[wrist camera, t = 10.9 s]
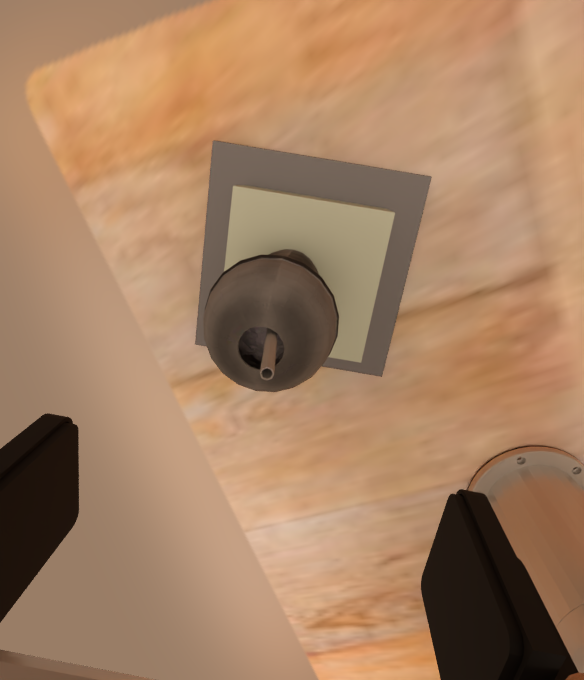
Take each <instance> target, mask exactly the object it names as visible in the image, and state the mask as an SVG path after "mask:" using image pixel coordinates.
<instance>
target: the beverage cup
mask: <svg viewBox="0 0 584 680" xmlns="http://www.w3.org/2000/svg"><path fill="white" fill-rule="evenodd" d="M338 325H339V313H338V309H337V306H336V302H335V298H334V295H333V293H332V292H331V290H330V289H329V287H328V286H327V284H326V283H325V281H324V280H323V278H322V277H321V276H320V275H319V273H318V270H317V268H316V267H315V265H314V264H313V262H312V261H311V259H310V258H309V257H307V256H306V255H305V254H304V253H302V252H299V251H296V250H292V249H284V250H279V251H276V252H272V253H270V254H268V255H258V256H254V257H251V258H247V259H244V260H240V261H239V262H237V263H236V264H234V265H233V266H232V267H230V268H229V269H227V270H226V271H224V272H223V273H222V274H221V276H220V277H219V278H218V280H217V281H216V283H215V284H214V285H213V287H212V288H211V290H210V293H209V296H208V299H207V303H206V306H205V312H204V316H203V327H204V339H205V342H206V345H207V348H208V350H209V353H210V356H211V358H212V360H213V361H214V362H215V364H216V365H217V366H218V368H219V369H220V370H221V371H222V373H223V374H225V375H226V376H227V377H229V378H230V379H231V380H233V381H234V382H236V383H237V384H238V385H241V386H244V387H247V388H250V389H252V390H255V391H267V392H277V391H281V390H285V389H290V388H293V387H295V386H297V385H299V384H300V383H302V382H304V381H306V380H307V379H309V378H311V377H312V376H313V375H314V374H315V373H316V372H317V370H318V369H319V368H320V367H321V366H322V365H323V364H324V363H325V361H326V360H327V358H328V356H329V355H330V353H331V351H332V348H333V346H334V344H335V341H336V339H337V337H338Z"/></svg>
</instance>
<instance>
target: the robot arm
mask: <svg viewBox="0 0 584 680" xmlns="http://www.w3.org/2000/svg"><path fill="white" fill-rule="evenodd" d="M78 466H79V464H78V427H77V425H75V424H73V422H72V419H71V418H69V417H64V416H59V415H54V414H44V415H42V416H41V417H40V418H39V419H37V420H36V421H35V422H34V423H32V424H31V425H30V426H29V427H27V428H26V429H25V430H24V431H22V432H21V433H20V434H19V435H17V436H16V437H15V438H14V439H12V440H11V441H10V442H9V443H7V444H6V445H5V446H3V447H2V448H1V449H0V622H1V621H2V620H3V618H4V617H5V616H6V614H7V613H8V612H9V610H10V609H11V608H12V607H13V605H14V604H15V603H16V601H17V600H18V599H19V597H20V596H21V595H22V593H23V592H24V591H25V589H26V588H27V587H28V585H29V584H30V583H31V581H32V580H33V579H34V577H35V576H36V575H37V573H38V572H39V571H40V569H41V568H42V567H43V566H44V564H45V563H46V562H47V560H48V559H49V558H50V556H51V555H52V554H53V552H54V551H55V550H56V548H57V547H58V546H59V544H60V543H61V542H62V540H63V539H64V538H65V537H66V535H67V534H68V533H69V531H70V530H71V529H72V527H73V526H74V524H75V522H76V520H77V517H78V513H79V479H78V478H79V472H78V471H79V470H78V469H79V467H78ZM421 591H422V597H423V601H424V606H425V610H426V615H427V619H428V624H429V628H430V633H431V637H432V642H433V646H434V651H435V655H436V660H437V664H438V669H439V673H440V678H441V680H584V465H583V464H582V463H581V462H580V461H579V460H578V459H577V458H575V457H573V456H572V455H570V454H568V453H566V452H564V451H561V450H558V449H554V448H549V447H525V448H519V449H515V450H512V451H509V452H506V453H504V454H502V455H500V456H498V457H496V458H494V459H493V460H491V461H490V462H488V463H487V464H486V465H485V466H484V467H483V468H482V469H481V470H480V471H479V472H478V473H477V474H476V476H475V477H474V479H473V480H472V482H471V484H470V487H469V489H468V490H462V489H460V490H459V491H458V492H457V494H450V496H449V498H448V500H447V503H446V506H445V509H444V512H443V515H442V518H441V521H440V524H439V527H438V530H437V533H436V536H435V539H434V542H433V545H432V548H431V551H430V554H429V557H428V560H427V563H426V566H425V569H424V572H423V575H422V580H421ZM0 680H155V679H149V678H144V677H139V676H134V675H129V674H124V673H119V672H113V671H109V670H103V669H98V668H93V667H88V666H82V665H77V664H72V663H66V662H62V661H56V660H51V659H46V658H40V657H35V656H30V655H25V654H20V653H15V652H9V651H4V650H0Z"/></svg>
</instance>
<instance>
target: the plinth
mask: <svg viewBox="0 0 584 680" xmlns="http://www.w3.org/2000/svg"><path fill="white" fill-rule="evenodd" d="M430 181H431V176H425V175H419V174H412V173H406V172H400V171H394V170H388V169H382V168H376V167H370V166H364V165H358V164H352V163H346V162H340V161H334V160H328V159H322V158H316V157H310V156H304V155H298V154H292V153H286V152H280V151H274V150H268V149H262V148H256V147H249V146H243V145H237V144H231V143H225V142H219V141H213V145H212V157H211V168H210V180H209V191H208V203H207V215H206V226H205V238H204V249H203V261H202V272H201V284H200V295H199V307H198V318H197V330H196V341H195V344H196V345H202V346H207V345H206V342H205V339H204V327H203V316H204V312H205V306H206V303H207V299H208V296H209V293H210V290H211V288H212V287H213V285H214V284H215V283H216V281H217V280H218V278H219V277H220V276H221V274H222V273H223V272H224V271H226V270H227V269H229V268H230V267H232V266H233V265H234V264H236V263H237V262H239V261H240V260H244V259H247V258H251V257H254V256H258V255H268V254H270V253H272V252H276V251H279V250H284V249H292V250H296V251H299V252H302V253H304V254H305V255H306V256H307V257H309V258H310V259H311V261H312V262H313V264H314V265H315V267H316V268H317V270H318V273H319V275H320V276H321V277H322V278H323V280H324V281H325V283H326V284H327V286H328V287H329V289H330V290H331V292H332V293H333V295H334V298H335V302H336V306H337V309H338V313H339V325H338V337H337V339H336V341H335V344H334V346H333V348H332V351H331V353H330V355H329V356H328V358H327V360H326V361H325V363H324V364H323V365H322V366H323V367H329V368H335V369H340V370H346V371H352V372H358V373H363V374H369V375H375V376H381V377H382V375H383V371H384V367H385V362H386V358H387V354H388V350H389V346H390V342H391V338H392V334H393V330H394V326H395V322H396V318H397V314H398V310H399V306H400V302H401V298H402V294H403V290H404V286H405V282H406V278H407V274H408V270H409V266H410V262H411V258H412V254H413V250H414V246H415V242H416V238H417V234H418V230H419V226H420V222H421V218H422V214H423V210H424V205H425V201H426V197H427V193H428V189H429V185H430Z"/></svg>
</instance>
